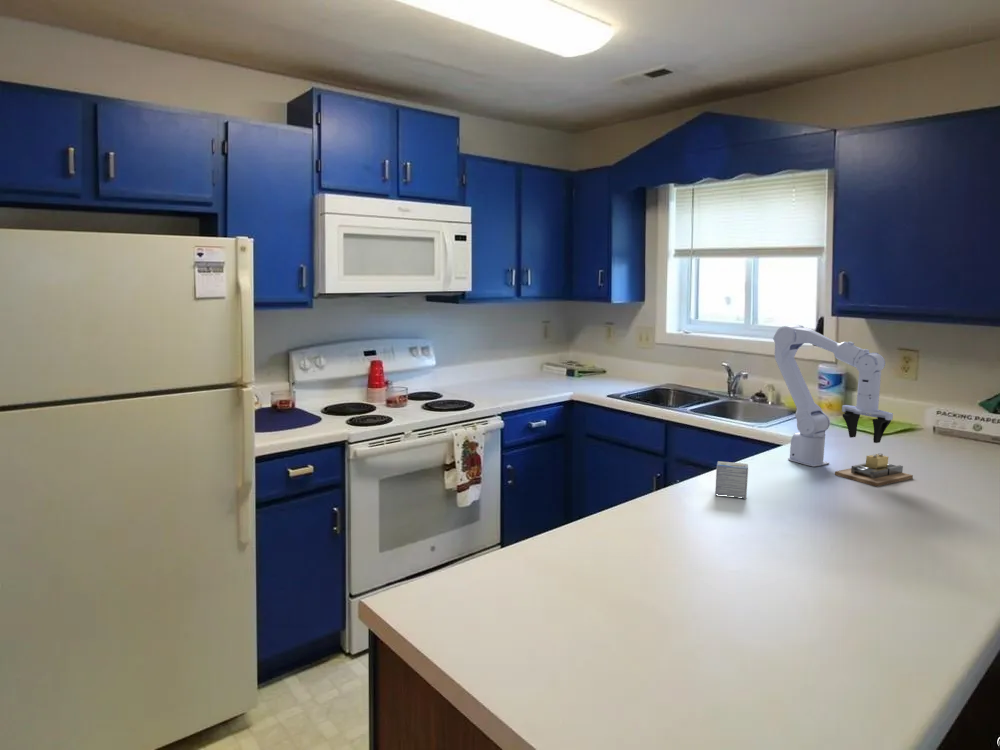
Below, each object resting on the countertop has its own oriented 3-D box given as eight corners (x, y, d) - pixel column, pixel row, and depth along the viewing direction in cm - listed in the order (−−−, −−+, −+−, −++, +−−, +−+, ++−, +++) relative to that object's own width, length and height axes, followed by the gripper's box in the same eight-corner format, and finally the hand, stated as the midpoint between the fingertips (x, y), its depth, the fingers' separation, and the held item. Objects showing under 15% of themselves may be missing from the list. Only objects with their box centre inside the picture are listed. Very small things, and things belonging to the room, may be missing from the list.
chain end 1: (851, 472, 201) (851, 466, 201) (865, 469, 204) (865, 463, 204) (873, 478, 195) (874, 472, 195) (887, 475, 198) (888, 469, 198)
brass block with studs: (865, 472, 202) (866, 453, 201) (875, 470, 204) (877, 452, 203) (876, 475, 198) (878, 456, 198) (886, 473, 201) (888, 454, 200)
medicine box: (746, 495, 183) (748, 463, 182) (746, 500, 179) (748, 467, 177) (715, 491, 185) (717, 460, 184) (714, 496, 181) (716, 464, 180)
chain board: (834, 474, 202) (834, 471, 202) (870, 467, 211) (870, 464, 210) (876, 486, 191) (877, 483, 191) (912, 478, 199) (912, 475, 199)
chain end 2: (866, 469, 205) (866, 463, 204) (879, 466, 208) (880, 460, 207) (888, 475, 199) (889, 468, 198) (902, 472, 202) (902, 466, 201)
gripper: (836, 391, 205) (833, 436, 206) (883, 399, 192) (879, 446, 194) (851, 390, 208) (848, 433, 210) (898, 397, 195) (894, 443, 197)
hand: (864, 439), depth 202 cm, fingers open, 7 cm apart
